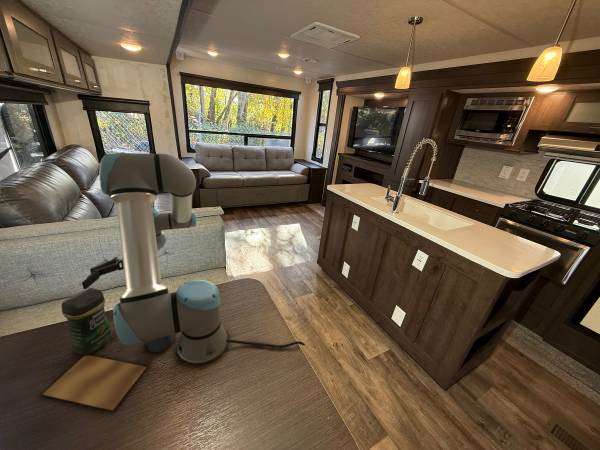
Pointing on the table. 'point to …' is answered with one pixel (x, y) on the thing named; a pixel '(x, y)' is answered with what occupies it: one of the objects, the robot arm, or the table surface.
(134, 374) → the cork mat
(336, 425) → the table surface
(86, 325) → the coffee jar
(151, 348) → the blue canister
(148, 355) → the table surface
